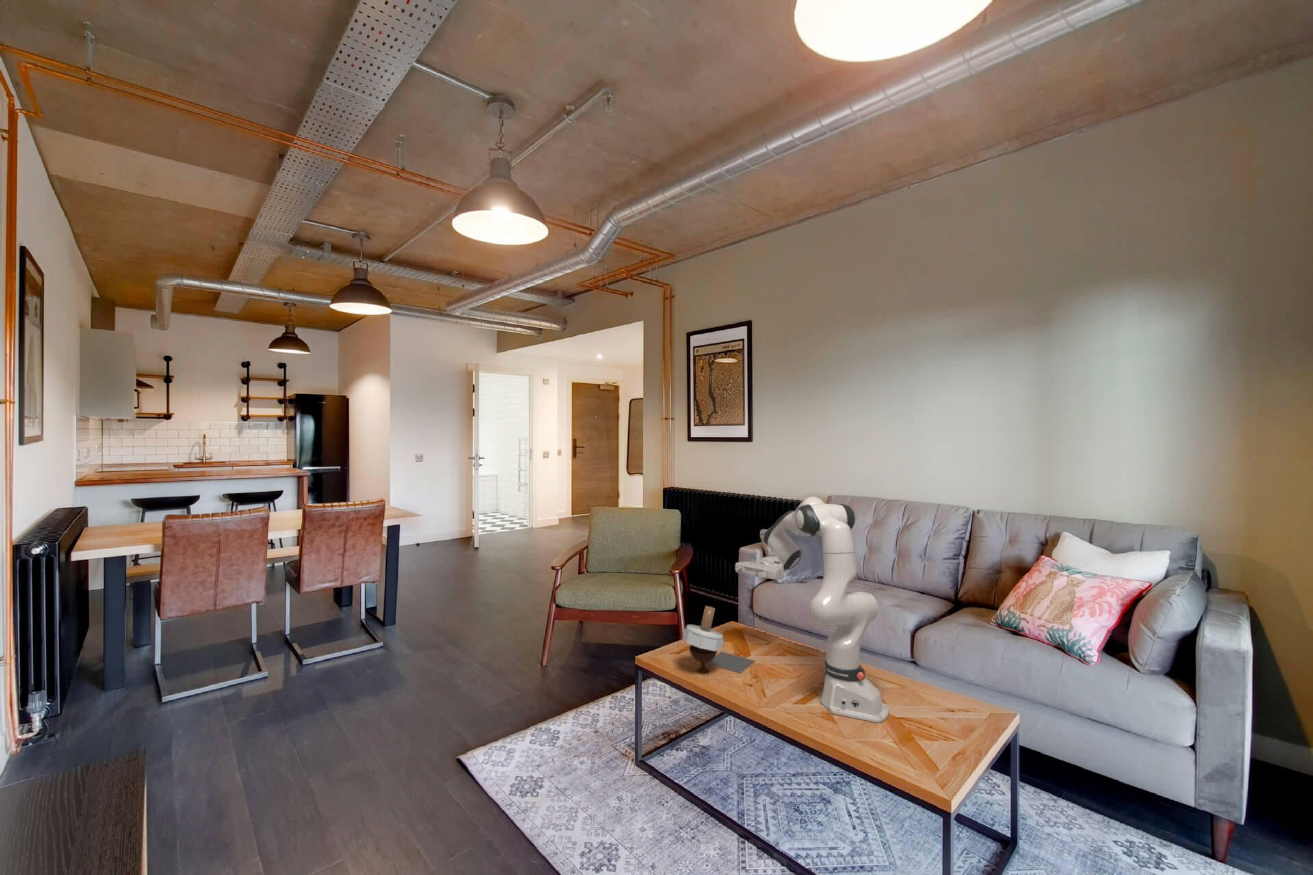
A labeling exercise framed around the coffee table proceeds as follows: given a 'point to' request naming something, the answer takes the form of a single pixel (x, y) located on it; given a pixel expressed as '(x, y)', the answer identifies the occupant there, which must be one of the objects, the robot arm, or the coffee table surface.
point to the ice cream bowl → (702, 657)
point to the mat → (730, 662)
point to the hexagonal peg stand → (704, 633)
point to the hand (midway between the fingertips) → (747, 573)
